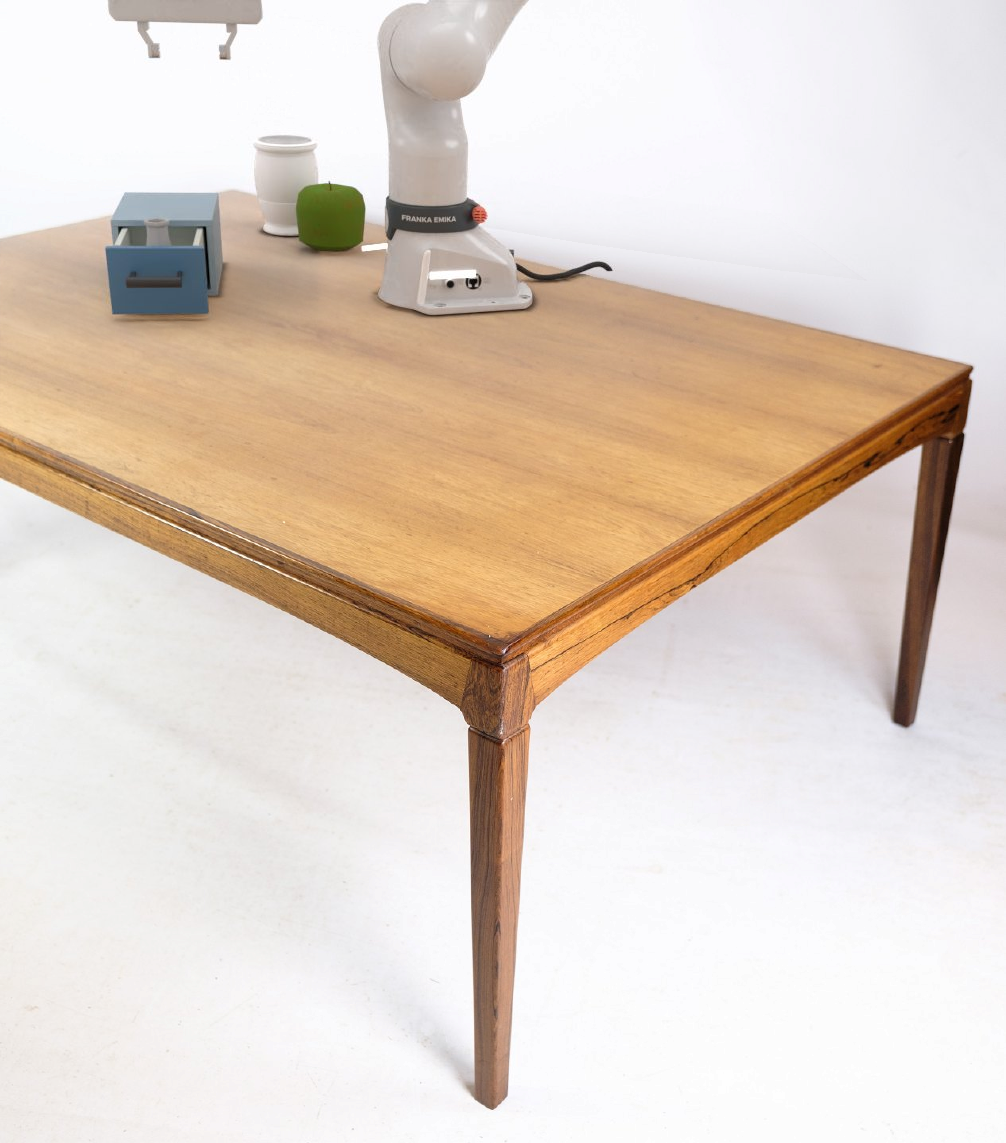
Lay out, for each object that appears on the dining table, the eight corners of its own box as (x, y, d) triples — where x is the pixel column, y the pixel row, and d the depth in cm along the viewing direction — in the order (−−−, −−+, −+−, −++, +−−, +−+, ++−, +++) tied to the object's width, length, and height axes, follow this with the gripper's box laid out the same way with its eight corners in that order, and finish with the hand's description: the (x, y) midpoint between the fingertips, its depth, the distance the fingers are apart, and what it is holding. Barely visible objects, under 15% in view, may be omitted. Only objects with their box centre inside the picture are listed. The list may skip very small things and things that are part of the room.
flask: (200, 292, 180) (195, 219, 175) (162, 303, 174) (156, 229, 170) (163, 282, 183) (156, 211, 178) (124, 294, 178) (117, 220, 173)
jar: (325, 226, 225) (323, 136, 218) (312, 240, 216) (309, 147, 209) (265, 222, 226) (261, 132, 219) (249, 236, 217) (244, 143, 210)
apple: (296, 257, 206) (293, 187, 201) (298, 240, 216) (296, 173, 210) (366, 257, 207) (365, 188, 202) (365, 241, 217) (364, 174, 212)
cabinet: (217, 296, 186) (212, 220, 180) (118, 296, 184) (110, 219, 178) (222, 263, 201) (218, 192, 196) (131, 263, 199) (124, 192, 194)
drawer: (206, 324, 170) (201, 257, 166) (107, 325, 169) (100, 257, 164) (214, 280, 189) (210, 219, 185) (125, 280, 187) (119, 218, 183)
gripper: (262, -52, 174) (267, 57, 181) (106, -58, 171) (116, 54, 178) (261, -50, 169) (266, 63, 175) (100, -55, 166) (111, 60, 172)
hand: (190, 58), depth 177 cm, fingers open, 8 cm apart
